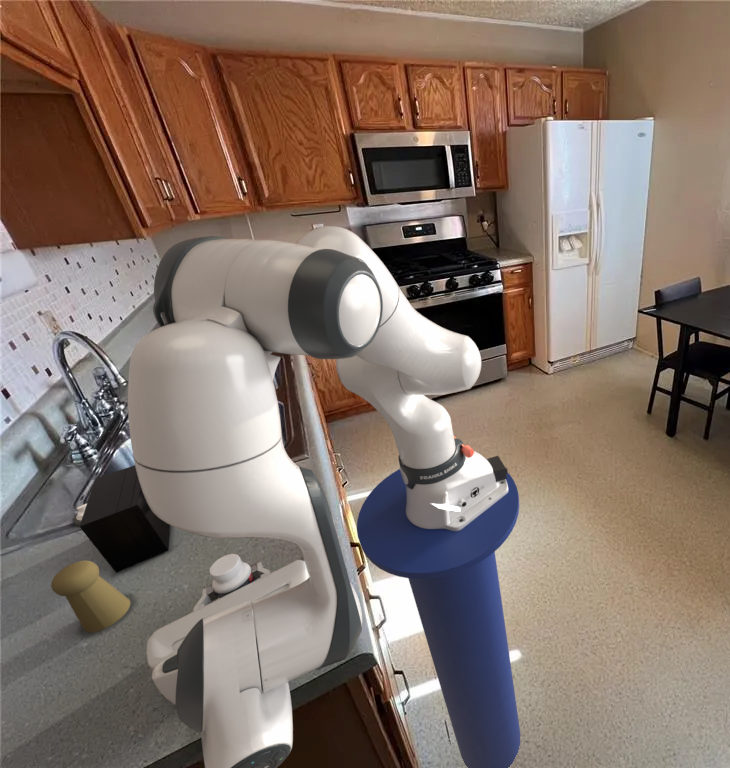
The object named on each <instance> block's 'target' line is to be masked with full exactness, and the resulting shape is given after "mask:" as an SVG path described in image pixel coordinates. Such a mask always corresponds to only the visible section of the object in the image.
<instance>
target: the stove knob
mask: <svg viewBox="0 0 730 768" xmlns="http://www.w3.org/2000/svg"><path fill="white" fill-rule="evenodd" d="M86 505H87V503H84V504H82V505H80V506H78V507H76V510H77V511H78V512H77V513H76V515H75V516H74V517H73V523H74V525H75V526H77V527H79V526H80V523H81V520H82V517H83V514H84V511H85V508H86Z"/></svg>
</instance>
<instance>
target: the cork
mask: <svg viewBox="0 0 730 768" xmlns="http://www.w3.org/2000/svg"><path fill="white" fill-rule="evenodd" d="M50 586H51V590H52V592H54V593H55V594H56V595H58V596H59V597H65V599H66V600H67V602H68V603H69V605H70V607H71V609H72V611H73V612H74V614H75V616H76V618H77V619H78V622H79V623H80V625H81V627H82V628H83V630H84V631H85V632H86V633H91V634H92V633H97V632H101V631H103V630H106V629H107V628H108V627H109V628H110V627H111V626H112V625H114V624H115V623H117V622H118V621H119V620H120V619H122V618H123V617H124V616H125V615H126V613H127V612H128V611H129V609H130V606H131V600H130V599H129V598H128V597H127V596H125V595H124V594H123V593H121V592H120V591H119V590H118V589H117V588H116V587H114V586H113V585H112V584H110V583H109V582H108V581H106V580H105V579H104V578H103V577H101V576H100V568H99V566H98V565H97V564H96V563H95V562H93V561H91V560H79V561H76V562H73V563H71V564H69V565H66V566H65V567H64V568H62V569H61V570H60V571H58V572H57V573H56V574H55V575H54V576H53V577H52V580H51V583H50Z"/></svg>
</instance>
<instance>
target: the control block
mask: <svg viewBox="0 0 730 768" xmlns="http://www.w3.org/2000/svg"><path fill="white" fill-rule="evenodd" d="M86 504H87V505H86V508H85V511H84V514H83V517H82V520H81V523H80V526H78V527H79V528H80V530H81V531H82V532H83V534H84V535H85V536H86V537H87V539H89V541H90V542H91V543H92V545H93V546H94V547H95V548H96V550H97V551H98V553H100V555H101V556H102V557H103V559H104V560H105V561H106V562H107V563H108V565H109V566H110V567H111V569H112V570H113V571H114V572H115V574H117V573H119V572H122V571H124V570H126V569H130V568H132V567H133V566H136V565H138V564H140V563H143V562H145V561H148V560H149V559H153V558H156V557H158V556H160V555H162V554H164V553H166V552H168V551H169V550H170V548H169V547H170V534H171V525H169V524H167V523H166V522H164V521H163V520H161V519H160V518H159V517H157V516H156V515H155V514H154V513H153V512H152V510H151V509H150V507H149V505H148V503H147V501H146V499H145V497H144V494H143V491H142V489H141V486H140V482H139V479H138V475H137V471H136V467H135V464H134V465H132V466H128V467H125V468H123V469H119V470H116V471H113V472H110V473H107V474H104V475H102V476H99V477H96V478H95V479H94V482H93V485H92V488H91V490H90V494H89V497H88V500H87V503H86Z"/></svg>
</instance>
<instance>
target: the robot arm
mask: <svg viewBox="0 0 730 768" xmlns="http://www.w3.org/2000/svg"><path fill="white" fill-rule="evenodd" d="M153 295H154V296H153V297H154V303H153V306H152V313H153V316H154V319H155V321H156V323H157V325H158V326H159V327H158V328H155V329H153V330H151V331H149V332H148V333H147V334H145V335H144V336H142V337H141V338H140V339H139V340H138V341H137V343H136V344H135V346H134V347H133V349H132V351H131V353H130V358H129V369H128V384H127V414H128V427H129V437H130V445H131V450H132V457H133V462H134V465H135V467H136V471H137V475H138V479H139V482H140V486H141V489H142V491H143V494H144V497H145V499H146V501H147V503H148V505H149V507H150V509H151V510H152V512H153V513H154V514H155V515H156V516H157V517H159V518H160V519H161V520H163V521H164V522H166V523H167V524H169V525H170V527H173V528H176V529H178V530H180V531H183V532H186V533H189V534H194V535H197V536H202V537H207V538H223V539H224V538H268V539H275V540H276V539H278V540H284V541H287V542H291V543H294V544H296V545H297V546H298V547H299V548H300V552H301V554H302V557H303V560H302V559H296V560H294V561H292V562H290V563H288V564H286V565H284V566H282V567H280V568H278V569H276V570H274V571H272V572H271V570H270V569H267V568H265V567H264V565H263V563H262V561H258V562H256V563H254V564H252V565H251V566H250V565H249V566H250V567H251V573H252V575H253V576H254V578H255V580H256V579H257V580H256V581H254V582H252V583H250V584H248V585H246V586H244V587H242V588H240V589H238V590H236V591H234V592H232V593H230V594H228V595H226V596H224V597H222V598H219V597H218V595H217V594H216V592H215V591H214V589H213V587H212V584H211V585H208V586H206V587H204V588H202V590H201V597H200V598H199V600H198V601H197V603H196V604H194V606H193V608H192V612H190V613H188V614H186V615H184V616H182V617H180V618H177V619H176V620H174V621H171V622H170V623H167V624H166V625H164V626H162V627H160V628H157V629H156V630H154V632H152V634H151V635H150V636H149V638H148V639H147V642H146V650H145V651H146V661H147V665H148V667H149V668H150V670H151V671H152V673H151V679H152V682H153V684H154V685H155V688H157V690H158V692H159V693H160V694H161V695H162V696H163V697H164V698H165V699H166V700H168V701H169V702H170V703H171V704H173V705H174V706H175V711H176V714H177V717H178V718H179V721H181V722H182V723H183V724H185V725H186V726H187V727H189V728H190V729H192V730H193V731H196V732H197V733H200V736H201V737H200V738H201V748H202V749H201V750H202V756H203V763H204V768H278V767H280V766H281V765H282V764H283V762H285V760H286V759H287V758H288V757H289V755H290V753H292V752H291V751H292V749H293V744H294V743H293V742H294V733H293V732H294V724H293V723H294V722H293V707H292V706H293V705H292V698H291V697H292V695H291V691H290V685H289V682H290V681H293V680H295V679H297V678H299V677H302V676H304V675H306V674H308V673H310V672H312V671H314V670H315V671H318V670H320V669H323V668H325V667H328V666H331V665H334V664H337V663H339V662H342V661H345V660H346V659H347V658H348V656H349V655H350V653H351V651H352V650H353V648H354V647H355V645H357V644H356V643H357V642H358V640H359V638H360V636H361V634H362V631H363V611H362V607H361V603H360V599H359V597H358V594H357V592H356V590H355V588H354V586H353V584H352V583H351V581H350V577H349V573H348V569H347V565H346V561H345V558H344V554H343V550H342V547H341V543H340V542H341V541H340V538H339V535H338V533H337V532H338V531H337V528H336V525H335V521H334V517H333V515H332V512H331V509H330V505H329V501H328V498H327V496H326V493H325V491H324V488H323V487H322V484H321V482H320V480H319V479H318V476H317V475H316V474H315V473H314V471H313V470H312V469H309V468H306V467H302V466H298V465H297V464H296V463H295V462H294V461H293V460H292V459H291V458H290V456H289V455H288V453H287V451H286V449H285V446H284V441H283V436H282V435H283V434H282V433H283V432H282V423H281V413H280V408H279V401H278V396H277V392H276V387H275V383H274V378H275V373H276V370H277V367H278V365H279V362H280V361H281V356H278V355H274V354H272V353H275V354H285V355H292V356H293V355H295V356H310V357H311V358H314V359H316V360H336V363H335V368H336V373H337V376H338V379H339V381H340V383H341V384H342V385H343V387H344V388H345V389H346V390H348V391H349V392H351V393H353V394H355V395H357V396H359V397H360V398H362V399H363V400H364V401H366V402H367V403H369V404H370V405H371V406H372V407H373V408H374V409H375V410H376V411H377V412H378V413H379V414H380V415H381V416H382V418H383V419H384V420H385V421H386V423H387V425H388V426H389V429H390V431H391V433H392V435H393V439H394V442H395V445H396V448H397V451H398V457H397V458H398V464H399V469H400V471H401V475H402V478H403V481H404V483H405V484H406V493H407V503H406V515H407V518H408V519H409V521H410V522H411V523H413V524H414V525H416V526H418V527H421V528H425V529H447V530H451V531H459V530H461V529H463V528H464V527H465V526H466V525H468V524H469V523H470V522H471V521H473V520H474V519H475V518H477V517H478V516H479V515H480V514H482V513H483V512H484V511H485V510H487V509H488V508H489V507H491V506H492V505H493V504H494V503H496V502H497V501H498V500H499V499H501V498H502V497H503V496H504V495H506V494H507V493H508V485H507V481H506V479H507V472H508V468H507V467H506V466H505V464H504V462H503V461H502V460H501V458H500V456H499V455H495V456H492V457H489V458H486V457H485V456H483V455H482V454H481V453H479V452H478V451H475V450H474V449H473V448H472V447H471V446H470V445H469V444H464V442H463V441H462V440H461V439H460V438H458V437H456V436H455V435H454V430H453V424H452V418H451V416H450V414H449V412H448V410H447V409H446V408H445V407H444V406H443V405H442V404H441V403H439V402H437V401H435V400H433V399H431V398H429V397H427V396H432V395H433V396H436V395H437V396H439V395H443V396H444V395H449V394H453V393H458V392H459V393H460V392H463V391H466V390H467V391H468V390H470V389H472V387H473V386H474V385H475V384H476V382H477V381H478V378H479V377H480V373H481V370H482V356H481V352H480V350H479V347H478V346H477V344H476V342H475V341H474V340H473V339H472V338H471V337H470V336H469V335H465V334H461V333H458V332H455V331H452V330H449V329H447V328H445V327H442V326H440V325H438V324H437V323H435V322H433V321H432V320H430V319H428V318H427V317H425V316H424V315H422V313H420V312H418V311H417V310H416V309H415V308H414V307H413V306H412V304H411V303H410V301H409V300H408V299H407V297H406V296H405V294H404V293H403V291H402V290H401V288H400V285H398V283H397V281H396V280H395V278H394V277H393V275H392V273H391V272H390V271H389V269H388V268H387V266H386V265H385V264H384V262H383V261H382V260H381V258H380V257H379V256H378V255H377V254H376V253H375V252H374V251H373V249H372V248H371V247H370V246H369V245H368V244H367V243H366V242H365V241H364V240H363V239H362V238H360V236H359V235H357V234H356V233H355V232H353V231H351V230H349V229H347V228H344V227H341V226H336V225H325V226H319V227H316V228H313V229H312V230H309V231H307V232H306V233H305V234H303V235H302V236H301V237H299V238H298V240H296V242H295V243H294V242H289V241H282V240H276V239H248V238H227V237H223V236H217V235H211V236H199V237H193V238H189V239H185V240H182V241H180V242H179V241H178V242H177V243H175V244H174V245H172V246H171V247H170V248H168V249H167V250H166V252H165V253H163V255H162V257H161V260H159V263H158V266H157V269H156V271H155V275H154V283H153ZM485 458H486V459H488V461H487V460H486V459H485ZM508 473H509V472H508ZM502 483H503V484H502ZM461 521H462V522H461Z"/></svg>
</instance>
